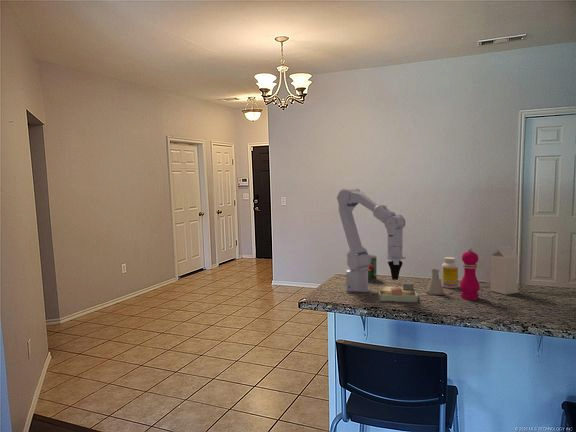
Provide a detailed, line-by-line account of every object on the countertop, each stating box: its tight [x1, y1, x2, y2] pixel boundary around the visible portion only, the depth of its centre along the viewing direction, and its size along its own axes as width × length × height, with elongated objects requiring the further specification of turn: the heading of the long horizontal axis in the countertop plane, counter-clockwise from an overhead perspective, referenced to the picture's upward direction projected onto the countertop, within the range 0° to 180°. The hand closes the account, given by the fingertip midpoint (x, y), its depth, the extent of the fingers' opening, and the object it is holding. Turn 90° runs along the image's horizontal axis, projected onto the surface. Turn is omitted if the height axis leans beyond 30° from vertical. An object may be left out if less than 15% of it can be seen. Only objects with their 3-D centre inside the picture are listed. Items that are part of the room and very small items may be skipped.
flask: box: [425, 268, 445, 296], centre depth 171 cm, size 7×7×10 cm
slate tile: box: [401, 281, 414, 290], centre depth 169 cm, size 4×4×2 cm
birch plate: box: [378, 285, 416, 296], centre depth 169 cm, size 14×8×2 cm, turn 80°
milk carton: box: [490, 245, 519, 295], centre depth 170 cm, size 7×7×19 cm
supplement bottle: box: [441, 256, 459, 289], centre depth 181 cm, size 7×7×13 cm
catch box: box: [378, 290, 419, 303], centre depth 162 cm, size 15×6×2 cm, turn 80°
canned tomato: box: [368, 254, 378, 282], centre depth 199 cm, size 8×8×11 cm
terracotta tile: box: [391, 288, 402, 295], centre depth 161 cm, size 4×4×2 cm
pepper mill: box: [459, 247, 481, 301], centre depth 162 cm, size 7×7×20 cm
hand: (394, 279), depth 165 cm, fingers closed
